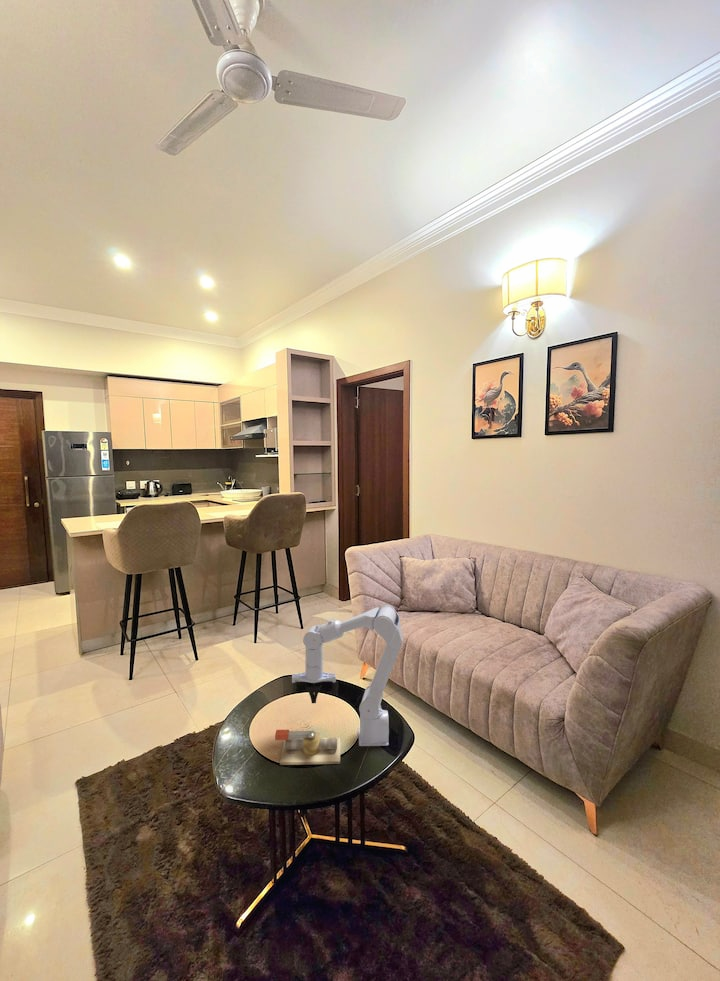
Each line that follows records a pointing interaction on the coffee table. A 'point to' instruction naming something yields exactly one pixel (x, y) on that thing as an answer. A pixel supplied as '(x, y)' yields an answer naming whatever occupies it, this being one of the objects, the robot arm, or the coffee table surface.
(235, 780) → the coffee table surface
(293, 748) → the valve fixture
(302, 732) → the valve lever
